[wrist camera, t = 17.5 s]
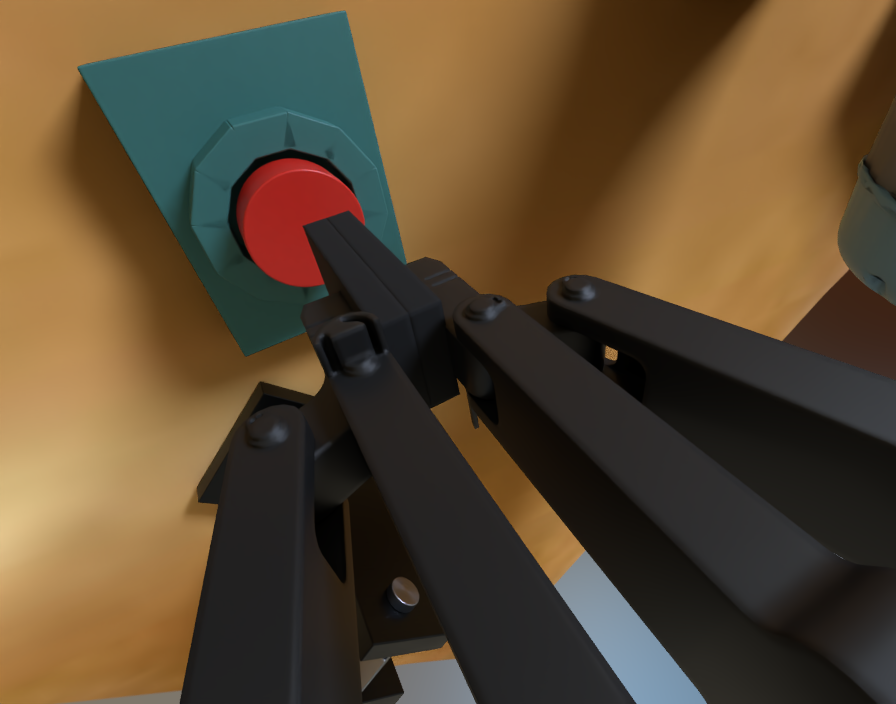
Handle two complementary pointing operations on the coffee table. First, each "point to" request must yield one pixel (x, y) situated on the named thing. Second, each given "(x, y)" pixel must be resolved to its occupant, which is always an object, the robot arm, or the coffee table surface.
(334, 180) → the button
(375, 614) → the bracket
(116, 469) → the coffee table surface
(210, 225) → the button box
